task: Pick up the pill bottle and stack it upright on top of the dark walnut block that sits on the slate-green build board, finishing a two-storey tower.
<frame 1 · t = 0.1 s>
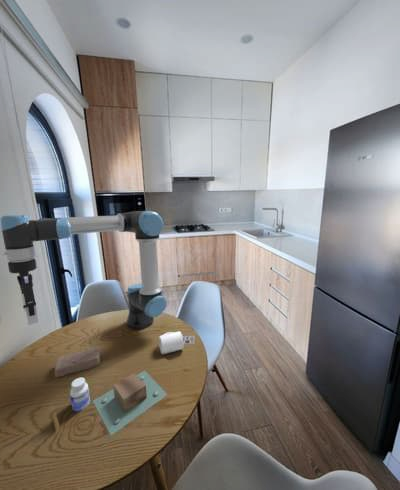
hand: (31, 316, 79), 28 cm above the table, fingers open, 13 cm apart
mug: (170, 348, 104), on the table
walnut block: (130, 397, 75), point 1 cm above the table, touching build board
build board: (130, 400, 75), on the table
pill bottle: (81, 407, 73), on the table
brick: (79, 366, 93), on the table
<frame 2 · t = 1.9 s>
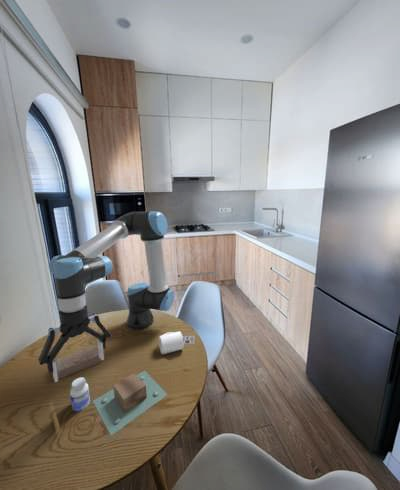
hand: (80, 368, 71), 15 cm above the table, fingers open, 13 cm apart
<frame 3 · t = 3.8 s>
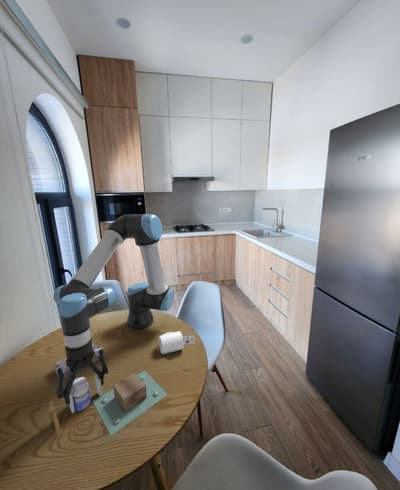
hand: (86, 401, 74), 1 cm above the table, fingers open, 8 cm apart
pill bottle: (82, 406, 74), on the table, touching gripper
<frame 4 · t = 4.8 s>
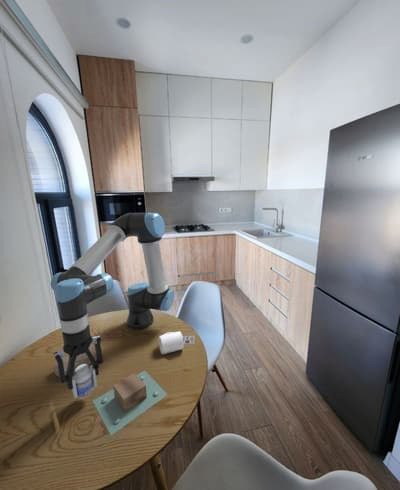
hand: (85, 389, 73), 6 cm above the table, fingers closed on pill bottle, 5 cm apart
pill bottle: (85, 392, 74), point 4 cm above the table, touching gripper
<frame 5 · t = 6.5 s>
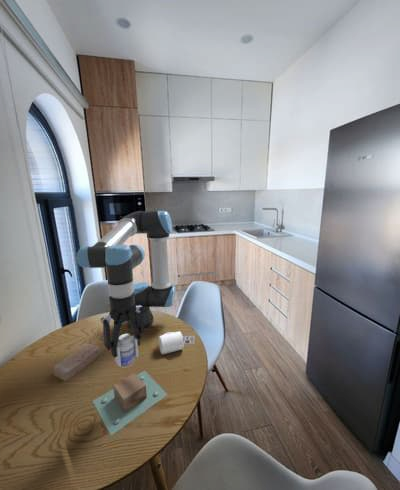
hand: (127, 359, 73), 16 cm above the table, fingers closed on pill bottle, 5 cm apart
pill bottle: (126, 363, 73), point 14 cm above the table, touching gripper
when the fingers open (8 cm above the table, at t = 8.5 s): pill bottle stays where it is, resting on walnut block.
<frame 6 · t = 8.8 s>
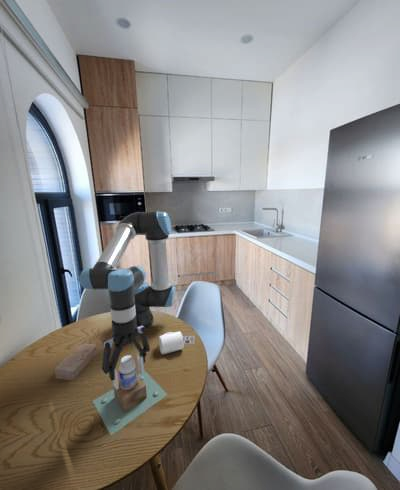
hand: (129, 378, 74), 9 cm above the table, fingers open, 8 cm apart
walnut block: (130, 397, 75), point 1 cm above the table, touching build board, pill bottle
pill bottle: (128, 384, 75), point 6 cm above the table, touching walnut block
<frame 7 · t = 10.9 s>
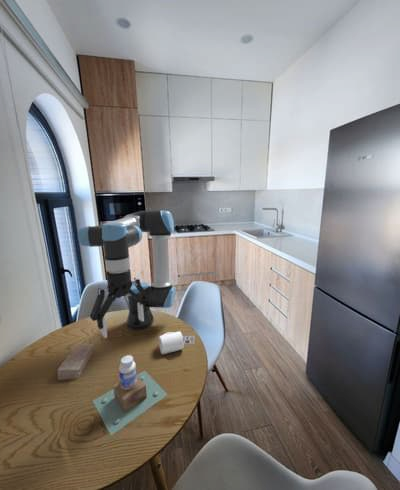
hand: (124, 327, 76), 25 cm above the table, fingers open, 13 cm apart
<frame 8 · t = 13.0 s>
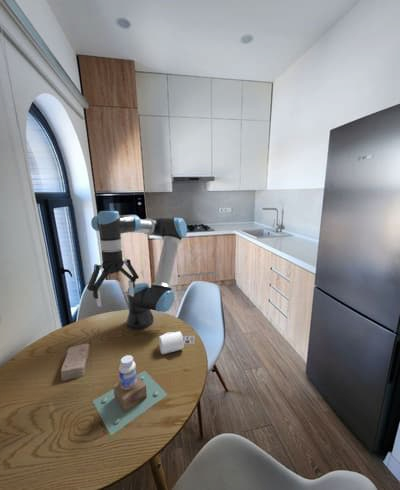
hand: (116, 300, 89), 29 cm above the table, fingers open, 13 cm apart
at the end: pill bottle 0.7 cm from the walnut block (horizontally); pill bottle point 6.0 cm above the table; pill bottle tilted 0° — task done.
